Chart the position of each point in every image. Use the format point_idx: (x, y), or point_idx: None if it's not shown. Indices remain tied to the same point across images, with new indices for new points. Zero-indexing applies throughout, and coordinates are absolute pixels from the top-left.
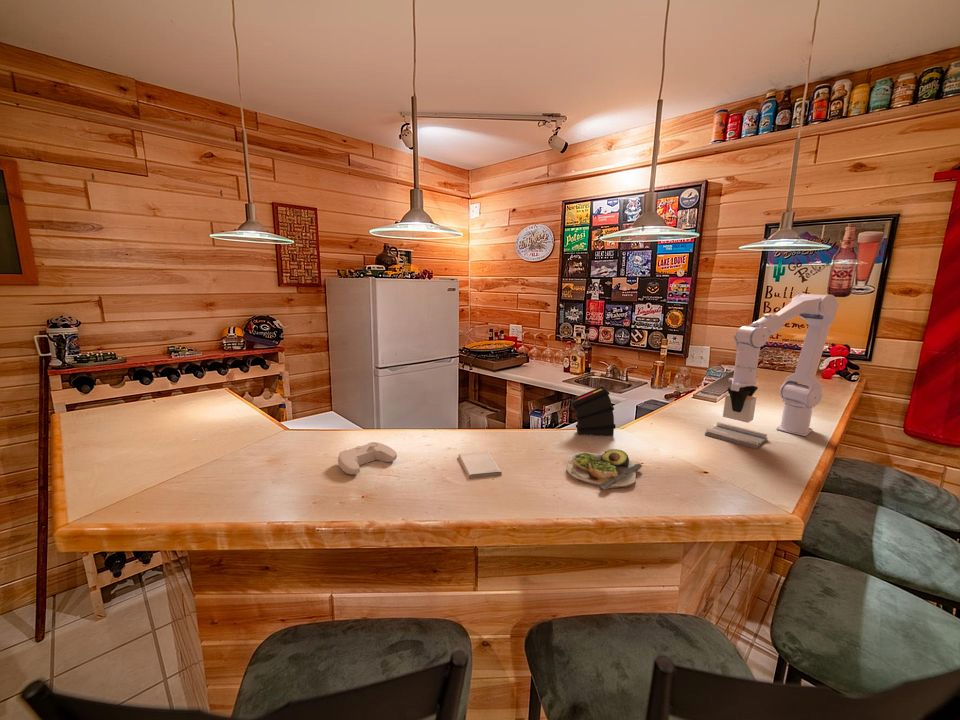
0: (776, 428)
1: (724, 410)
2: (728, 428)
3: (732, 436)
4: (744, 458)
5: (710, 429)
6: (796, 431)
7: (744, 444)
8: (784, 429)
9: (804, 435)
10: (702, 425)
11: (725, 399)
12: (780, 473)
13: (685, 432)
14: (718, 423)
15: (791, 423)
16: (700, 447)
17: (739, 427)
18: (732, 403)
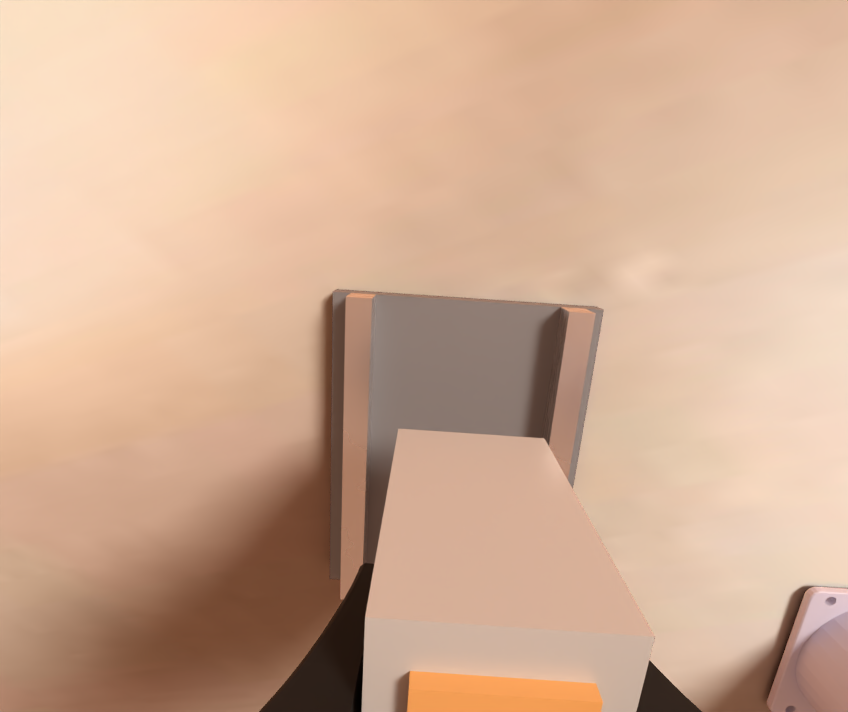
0: (813, 591)
1: (394, 469)
2: (549, 391)
3: (344, 468)
4: (139, 557)
5: (346, 327)
6: (800, 683)
7: (332, 522)
8: (814, 628)
9: (769, 706)
10: (554, 201)
11: (377, 558)
12: (103, 690)
13: (273, 163)
14: (565, 323)
15: (844, 705)
16: (77, 347)
17: (564, 464)
18: (328, 633)
